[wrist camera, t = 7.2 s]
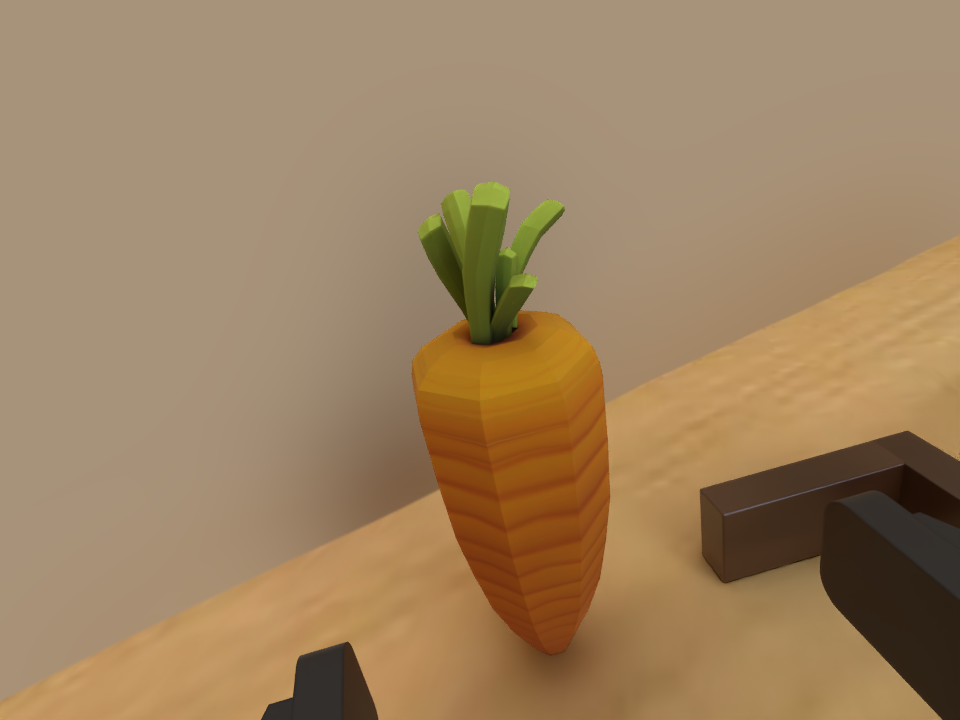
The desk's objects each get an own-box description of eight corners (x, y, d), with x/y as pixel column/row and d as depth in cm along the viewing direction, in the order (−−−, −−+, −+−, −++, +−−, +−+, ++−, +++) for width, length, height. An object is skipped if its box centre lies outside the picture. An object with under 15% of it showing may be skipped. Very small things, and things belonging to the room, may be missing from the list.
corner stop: (898, 496, 23) (907, 429, 22) (1170, 694, 15) (1208, 607, 14) (701, 554, 22) (699, 488, 21) (882, 792, 14) (896, 710, 13)
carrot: (494, 587, 22) (398, 175, 16) (631, 591, 21) (585, 144, 15) (463, 716, 18) (316, 221, 12) (634, 731, 17) (570, 183, 11)
